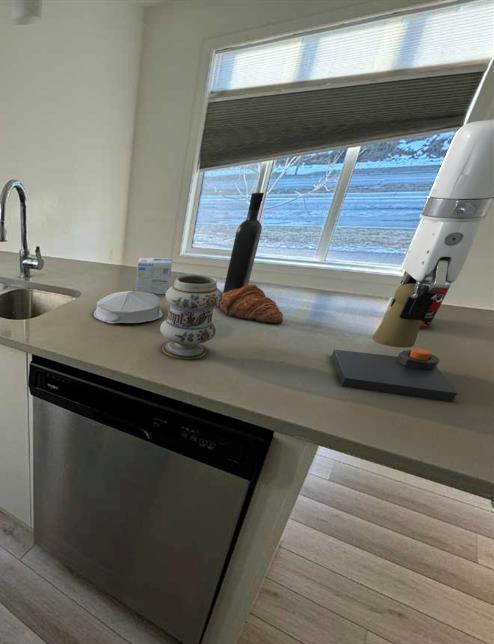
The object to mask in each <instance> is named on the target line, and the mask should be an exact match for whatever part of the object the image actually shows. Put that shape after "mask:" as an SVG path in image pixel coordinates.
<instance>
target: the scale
mask: <svg viewBox="0 0 494 644" xmlns="http://www.w3.org/2000/svg"><path fill="white" fill-rule="evenodd" d="M411 351H412V349H405V350H401V351H400V352H399V353H398V355H397V356H396V355H389V354H379V353H370V352H361V351H360V352H359V351H352V350H343V349H333V352H332V354H331V360H332V362H333V366H334V368H335V371H336V374H337V376H338V379H339V381H340V384H341V387H347V388H353V389H354V388H355V389H359V390H367V391H375V392H383V393H387V394H388V393H389V394H395V395H404V396H409V397H417V398H422V399H431V400H437V401H443V402H445V401H446V402H450V403H452V402H453V401H454V400H455V398H456V396H457V395H458V392H457V391H456V389H454V387H453V386H452V385H451V383H450V382H449V381H448V380H447V378H446V377H445V375H444V374H443V373H442V372H441V371H440V369H439V368H438V367H437V366H438V364H439V362H440V358H439V357H438V356H436V355H434V354H432V353H431V355H430V357H429V359H428V360H419V359H415V358H412V357H410V356H409V355H410V353H411Z"/></svg>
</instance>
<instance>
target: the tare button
mask: <svg viewBox="0 0 494 644" xmlns="http://www.w3.org/2000/svg"><path fill="white" fill-rule="evenodd" d="M411 350H412V351H411V353H410V355H409V356H410V357H412V358H415V359H419V360H428V359H429V357H430V355H431V354H432V351H431V350H429V349H426V348H420V347H415V348H412V349H411Z"/></svg>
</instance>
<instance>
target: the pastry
mask: <svg viewBox="0 0 494 644" xmlns="http://www.w3.org/2000/svg"><path fill="white" fill-rule="evenodd" d="M221 293H222V300H221V302H220V303H219V304H218V305H216V306H215V307H216V308H218V309H220V310H221V311H222V312H223V313H225V315H226V316H230V317H235V318H238V319H242V320H248V321H256V322H259V323H264V324H271V325H272V324H274V325H275V324H282V323H283V321H284V313H282V311H281V310H280V309H279V307H278V305H277V303H276V302H275V301H274V300H273V299H272V298H270V297H268V296H266V293H265V292H264V291H263V289H261V288H260V287H258V286H257V285H256V284H248V286H244V287H242V288H240V289H233V290H230V291H228V292H226V293H224V292H223V291H221Z"/></svg>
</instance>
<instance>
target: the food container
mask: <svg viewBox="0 0 494 644" xmlns="http://www.w3.org/2000/svg"><path fill="white" fill-rule="evenodd" d="M161 302H162V301H161V300H160V297H159V296H158V295H157V294H150V293H146V292H137V291H135V290H127V291H119V292H112V293H111V294H107V295H105V296H104V297H101V298H100V299H99V300H98V301H96V309H95V310H94V311H93V316H94V318H95V319H98V320H99V321H101V322H106V323H107V324H108V323H109V324H120V323H121V324H138V323H145V322H151V321H152V322H153V321H156V320H157V319H160V318H162V317H163V312H162V309H161Z"/></svg>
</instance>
